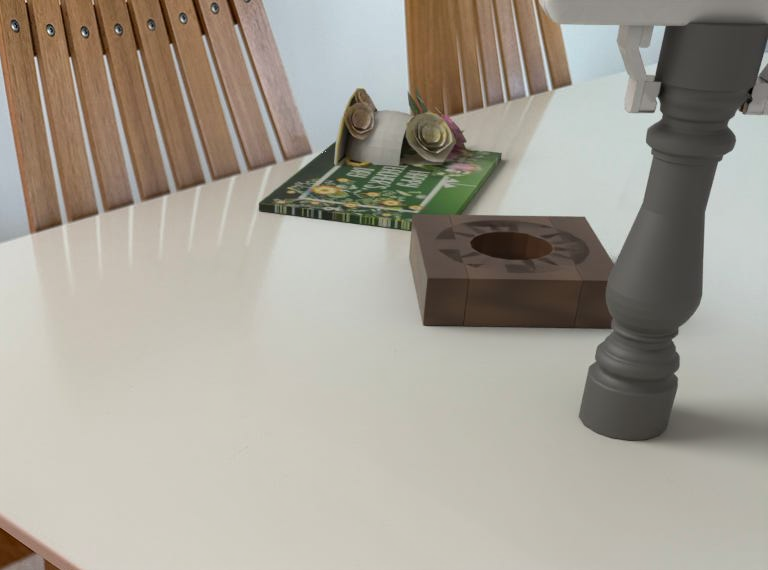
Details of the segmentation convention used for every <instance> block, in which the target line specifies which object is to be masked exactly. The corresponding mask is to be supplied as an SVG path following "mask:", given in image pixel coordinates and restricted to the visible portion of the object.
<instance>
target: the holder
mask: <svg viewBox="0 0 768 570" xmlns="http://www.w3.org/2000/svg"><path fill="white" fill-rule="evenodd" d="M408 258H409V259H408V260H409V263H410V268H411V273H412V278H413V282H414V283H413V284H414V289H415V292H416V293H415V294H416V298H417V302H418V306H419V312H420V318H421V323H422V325H423V326H451V327H452V326H456V327H458V326H459V327H460V326H461V327H510V328H511V327H513V328H514V327H515V328H574V329H575V328H577V329H578V328H579V329H580V328H582V329H583V328H584V329H612V327H611V322H612V319H613V317H612V316H611V314H610V312H609V310H608V307H607V303H606V287H607V282H608V277H609V275H610V273H611V271H612V269H613V267H614V264H615V262H614V261H613V260H612V259H611V257H610V255H609V253H608V252H607V250H606V248H605V247H604V246H603V244H602V242H601V240H600V239H599V238H598V236H597V234H596V233H595V231H594V228H593V227H592V226H591V224H590V223H589V221H588V219H587V218H586V216H573V215H572V216H568V215H567V216H564V215H563V216H562V215H502V214H501V215H498V214H497V215H496V214H490V215H489V214H460V215H432V214H413V215H412V227H411V230H410V241H409V253H408Z"/></svg>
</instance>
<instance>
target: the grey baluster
mask: <svg viewBox="0 0 768 570" xmlns="http://www.w3.org/2000/svg"><path fill="white" fill-rule="evenodd" d="M664 27H665V28H664V32H663V37H662V41H661V47H660V50H659V54H658V61H657V64H656V70H655V74H654V76H655V78H656V79H659V80H660V81H661V82H662V83H661V88H660V92H659V95H658V96H657V97H656V98H657V99H658V101H659V111H660V113H661V115H662V116H661V118H660V119H659V120H658V121H656V122H655V123H653V124H652V125H649V127H648V128H647V130H646V136H645V144H646V145H647V146H648V147H650V148H651V149H650V154H651V156H652V160H651V163H650V168H649V173H648V178H647V182H646V186H645V191H644V196H643V200H642V202H641V203H642V204H641V206H640V207H639V210H638V211H637V214H636V217H635V219H634V220H633V223H632V225H631V228H630V230H629V232H628V234H627V237H626V239H625V241H624V243H623V245H622V247H621V250H620V252H619V254H618V256H617V258H616V260H615V262H614V267H613V269H612V271H611V273H610V275H609V277H608V282H607V287H606V303H607V307H608V310H609V312H610V314H611V316H612V317H613V319H612V322H611V327H612V328H611V329H612V330H613V331H612V332H610V333H609V335H607V336H606V338H605V339H604V340H603V341H602V342H601V343H599V344H598V345H597V347H596V349H595V354H594V360H595V361H594V362H593V363H591V365H589V367H588V369H587V370H588V371H587V374H586V379H585V384H584V388H583V393H582V399H581V402H580V407H579V412H578V418H579V419H580V421H581V423H582V424H583V426H585V427H587V428H588V429H590V430H592V431H593V432H595V433H598V434H600V435H603V436H606V437H608V438H611V439H612V438H613V439H619V440H626V441H644V440H645V441H647V440H648V439H649V440H650V439H652V438H656V437H660V436H661V435H662V434H663V433H664V432H665V431H666V430H667V427H668V424H669V421H670V418H671V413H672V409H673V406H674V402H675V399H676V395H677V391H678V387H679V377H678V376H677V375H676V374H675V373H676V372H677V371H679V368H680V365H681V357H680V354H679V352H678V351H677V347H676V345H675V342H674V341H673V340H674V339H675V338H676V337H677V336H679V330H680V329H679V328H680V327H681V326H683V325H684V324H685V323H687V322H688V321H689V320H690V319H691V318H692V316H693V315H695V313H696V311H697V310H698V308H699V306H700V305H701V301H702V298H703V287H704V286H703V283H704V255H705V254H704V252H705V228H706V227H705V225H706V224H705V223H706V211H707V206H708V203H709V199H710V196H711V192H712V187H713V183H714V180H715V176H716V172H717V169H718V164H719V163H720V162H722V161H723V159H724V156H725V155H727V154H729V153H731V152H732V151H733V150H734V149H735V146H736V144H737V143H736V142H737V137H736V135H735V132H733V131H732V129H731V128H730V127H729V122H730V121H731V119H733V118H735V116H736V113H737V112H738V108H739V107H740V106H741V105H742V104H743V103H744V102H745V101H746V99H747V93H748V91H749V89H750V88H752V87H754V86H755V85H756V81H757V77H758V76H759V74H760V69H761V66H762V62H763V59H764V54H765V51H766V47H767V44H768V24H725V23H688V24H687V25H686V26H664Z"/></svg>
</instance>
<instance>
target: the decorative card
mask: <svg viewBox="0 0 768 570" xmlns="http://www.w3.org/2000/svg"><path fill="white" fill-rule="evenodd" d="M414 87H415V88H414V89H415V98H416V100H417V102H418V104H419V106H420V108H419V106H418V105H417V103H416V101H415V100H414V98H413V96H412V95H411V94H410V92H409V90H407V92H406V93H407V100H408V101H407V102H408V106H409V108H410V109H411V112H412V113H413V115H412V114H409V113H406V112H403V111H399V110H388V109H386V110H385V109H384V110H378V108H377V107H376V105H375V103H374V101H373V100H372V98H371V96H370V95H369V94H368V93H367V91H366V89H365V88H362V87H361V88H360V87H357V88H356V89H355V91H354V92H353V93H352V94H351V96H350V98H349V99H348V101H347V103H346V105H345V107H344V110H343V112H342V116H341V119H340V122H339V125H338V130H337V135H336V140H335V141H334V142H333V143H331V144H330V145H329V146H327V147H326V148H325V149H324V150H323V151H322V152H323V153H322V152H320V153H318V154H317V156H315V157H314V158H312V159H311V160H310V161H309V162H307V164H305V165H304V166H303V167H301V168H300V169H299V170H298V171H296V172H295V173H294V174H293V175H292V176H290V177H289V178H288V179H287V180H286V181H284V182H283V183H282V184H280V185H279V186H278V187H276V189H274V190H273V191H272V192H271V193H269V194H267V195H266V196H265V197H264V198H263V199H261V201H259V202H258V211H259V212H266V213H274V214H280V215H281V214H282V215H288V216H289V215H290V216H297V217H305V218H312V219H313V218H314V219H320V220H329V221H337V222H344V223H350V224H351V223H352V224H360V225H366V226H375V227H382V228H383V227H384V228H391V229H399V230H407V231H411V227H412V215H413V214H432V215H462V214H463V212H464V210H465V209H466V207H468V205H469V203H470V202H471V201H472V200H473V198H474V197H475V196H476V195H477V193H478V191H480V189H481V188H482V186H483V185H484V184H485V182H486V180H487V179H488V178H489V177H490V175H491V174H492V173H493V171H494V170H495V169H496V167H497V166H498V165H499V163H500V162H501V161H502V155H503V154H502V153H503V152H496V151H487V150H479V149H478V150H476V149H470V148H469V149H467V148H466V145H465V144H466V143H467V139H466V137H465V136H464V132H465V130H461V128H460V127H459V126H458V125H457V124H456V122H455V121H454V120H453V119H451V118H450V117H449V116H448V115H445V114H444V113H442V112H441V111H440V110H439V109H438V108H437V107H436V106H434V108H435V109H436V111H437V112H438V113H439V114H438V113H436V112H433V111H431V110H430V109H427V108H426V105H425V101H423V98H422V96H421V94H420V92H419V90H418V86H417V85H416V83H415V84H414ZM325 151H326V152H325Z"/></svg>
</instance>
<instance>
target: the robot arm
mask: <svg viewBox="0 0 768 570" xmlns="http://www.w3.org/2000/svg"><path fill="white" fill-rule="evenodd" d="M538 2H539V5H540V7H541V9H542V11H543V12H544V14H545V15H546V17H548V18H549V19H550V20H551V21H552V22H553V23H554V24H557V25H568V26H569V25H574V26H576V25H577V26H581V25H582V26H618V31H617V37H616V43H617V46H618V50H619V52H620V55H621V58H622V62H623V65H624V68H625V71H626V74H627V75H628V80H627V81H628V82H627V85H626V91H625V96H624V101H623V102H624V104H623V106H624V110H625V111H626V112H627V113H628V114H654V113H656V109H657V107H658V106H657V105H658V101H657V99H656V98H658V97H657V96H658V95H659V92H660V88H661V83H662V82H661V81H660V80H659V79H656V78H655V74H647V72H646V68H645V65H644V62H643V58H642V55H641V52H640V49H639V48H641V49H648V48H649V47H650V46H651V41H652V37H653V34H654V33H653V32H654V28H655V27H666V26H686V25H687V24H688V23H725V24H768V0H538ZM737 112H739V113H741V114H742V115H744V116H768V63H767V64H766V65H765V66H764V67H763V69H762V70H761V72H759V74H758V77H757V81H756V85H755V86H754V87H752V88H750V89H749V91H748V93H747V99H746V101H745V102H744V103H743V104H742V105H741V106H740V107H739V108H738V110H737Z"/></svg>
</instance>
